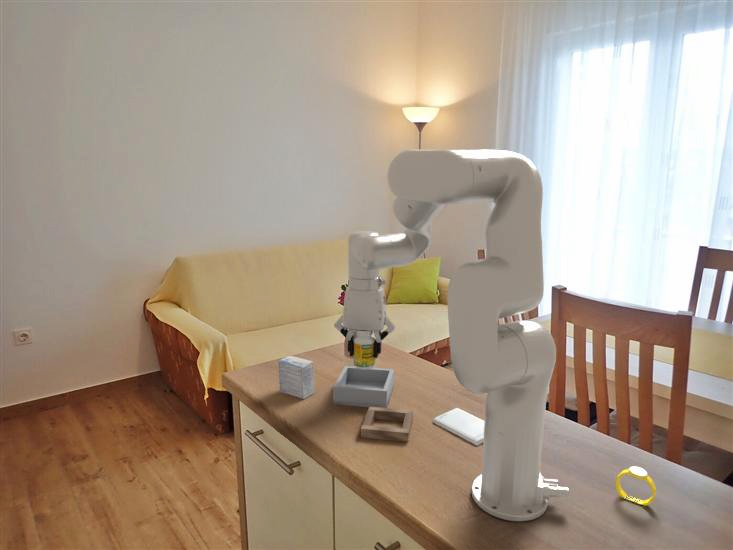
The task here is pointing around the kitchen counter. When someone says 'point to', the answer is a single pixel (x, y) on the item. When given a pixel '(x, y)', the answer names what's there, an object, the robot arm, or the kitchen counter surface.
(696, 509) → the kitchen counter surface
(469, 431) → the hard drive
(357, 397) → the slate tray
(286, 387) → the medicine box
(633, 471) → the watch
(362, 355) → the supplement bottle
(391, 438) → the walnut square tray
